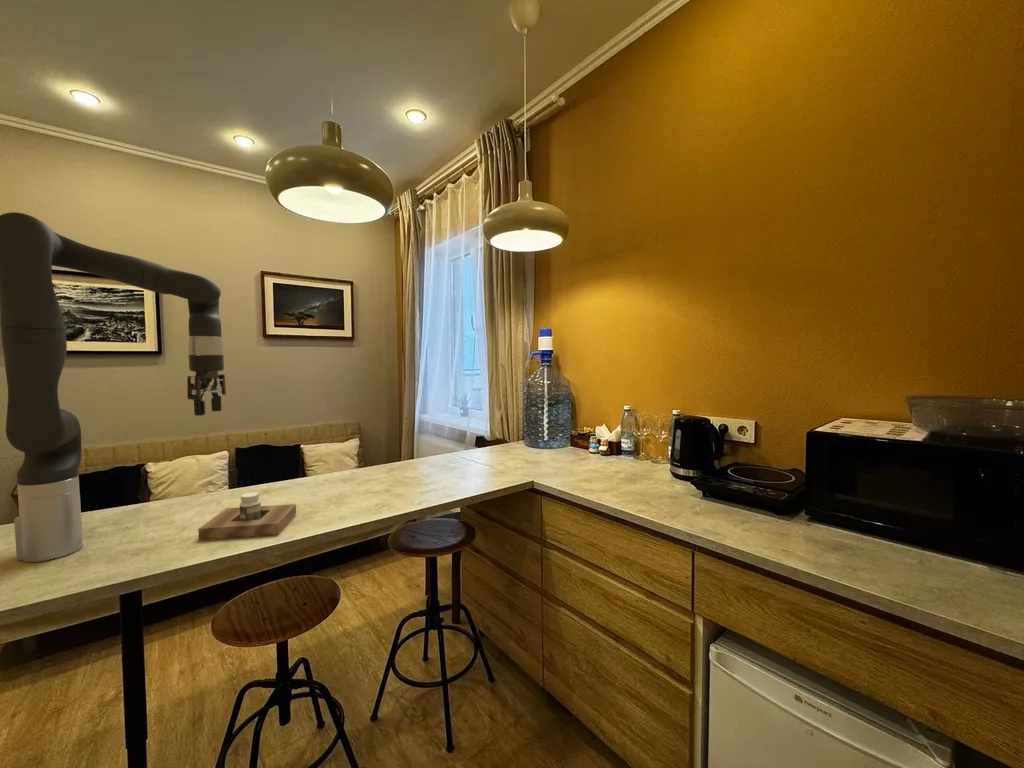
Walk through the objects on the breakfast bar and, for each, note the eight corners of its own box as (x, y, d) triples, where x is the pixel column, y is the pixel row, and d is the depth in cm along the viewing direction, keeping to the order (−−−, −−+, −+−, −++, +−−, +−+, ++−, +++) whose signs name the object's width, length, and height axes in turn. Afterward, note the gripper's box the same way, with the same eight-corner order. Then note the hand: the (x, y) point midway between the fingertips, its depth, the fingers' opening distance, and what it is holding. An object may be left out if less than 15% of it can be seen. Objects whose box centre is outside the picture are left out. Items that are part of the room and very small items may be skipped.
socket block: (198, 540, 100) (198, 528, 100) (226, 518, 113) (226, 508, 113) (278, 534, 103) (278, 523, 103) (296, 514, 117) (295, 504, 117)
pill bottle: (238, 525, 108) (237, 494, 108) (258, 520, 112) (257, 490, 111) (242, 530, 105) (241, 498, 104) (263, 525, 108) (262, 494, 108)
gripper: (205, 353, 115) (207, 410, 116) (174, 353, 101) (176, 417, 102) (234, 354, 117) (236, 409, 118) (207, 353, 103) (210, 416, 104)
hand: (208, 413), depth 110 cm, fingers open, 8 cm apart
